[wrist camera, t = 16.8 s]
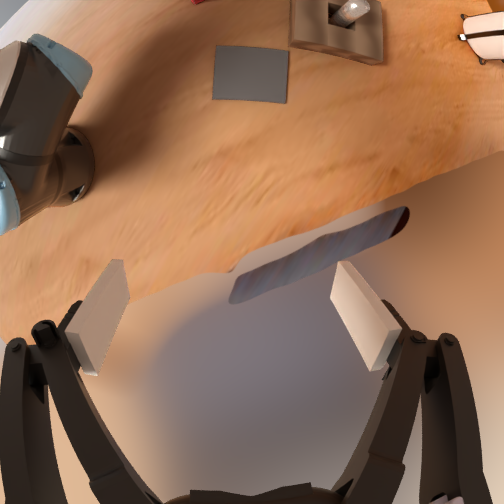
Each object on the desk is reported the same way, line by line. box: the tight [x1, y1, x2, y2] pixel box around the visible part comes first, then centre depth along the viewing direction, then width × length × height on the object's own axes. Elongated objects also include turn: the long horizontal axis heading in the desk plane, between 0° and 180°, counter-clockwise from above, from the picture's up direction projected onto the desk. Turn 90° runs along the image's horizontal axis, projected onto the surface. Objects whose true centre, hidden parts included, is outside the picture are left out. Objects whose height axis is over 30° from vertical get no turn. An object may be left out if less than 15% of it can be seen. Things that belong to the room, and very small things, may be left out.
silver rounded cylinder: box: [328, 0, 370, 28], centre depth 29 cm, size 3×3×11 cm
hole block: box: [288, 0, 383, 65], centre depth 31 cm, size 16×14×4 cm
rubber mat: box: [212, 46, 288, 104], centre depth 37 cm, size 12×10×1 cm
